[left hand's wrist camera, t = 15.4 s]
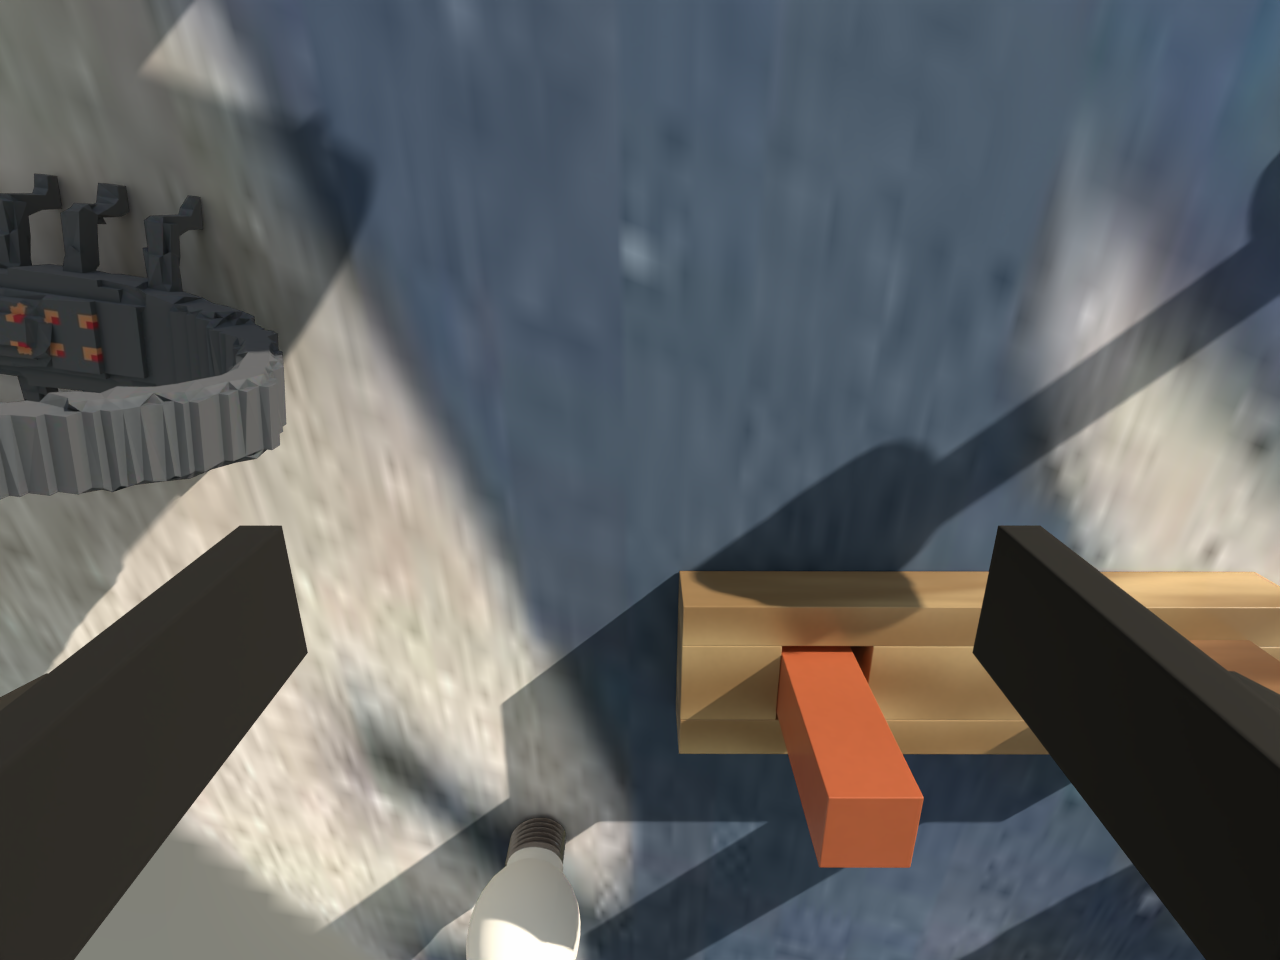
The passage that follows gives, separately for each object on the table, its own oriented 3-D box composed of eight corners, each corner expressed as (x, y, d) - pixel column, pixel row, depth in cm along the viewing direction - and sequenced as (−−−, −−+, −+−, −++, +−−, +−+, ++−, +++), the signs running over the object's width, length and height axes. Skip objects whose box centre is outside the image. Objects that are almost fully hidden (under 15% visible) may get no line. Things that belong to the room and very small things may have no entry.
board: (679, 570, 41) (694, 705, 29) (1255, 571, 41) (1489, 707, 29) (675, 708, 44) (687, 876, 33) (1204, 709, 44) (1396, 877, 33)
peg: (769, 615, 42) (828, 797, 29) (835, 615, 42) (924, 797, 29) (764, 670, 43) (819, 868, 30) (828, 670, 43) (910, 868, 30)
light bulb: (526, 786, 46) (493, 950, 36) (607, 832, 48) (598, 1001, 37) (472, 846, 48) (426, 1017, 38) (551, 888, 50) (528, 1064, 39)
